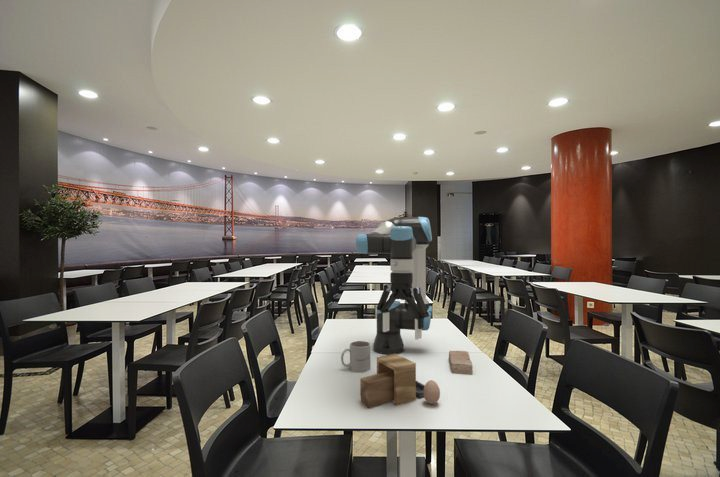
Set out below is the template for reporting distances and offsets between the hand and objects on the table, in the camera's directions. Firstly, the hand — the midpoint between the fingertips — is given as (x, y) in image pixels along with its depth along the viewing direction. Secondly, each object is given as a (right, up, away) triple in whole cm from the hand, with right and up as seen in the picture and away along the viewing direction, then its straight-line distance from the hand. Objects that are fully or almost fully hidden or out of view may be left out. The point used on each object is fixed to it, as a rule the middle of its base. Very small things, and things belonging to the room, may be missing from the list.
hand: (401, 334), depth 112 cm
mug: (-16, -22, +26) cm, 38 cm away
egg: (+9, -21, -4) cm, 24 cm away
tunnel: (-2, -21, +1) cm, 21 cm away
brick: (+28, -22, +28) cm, 46 cm away
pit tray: (+6, -21, +5) cm, 22 cm away
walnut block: (-6, -21, -2) cm, 22 cm away
